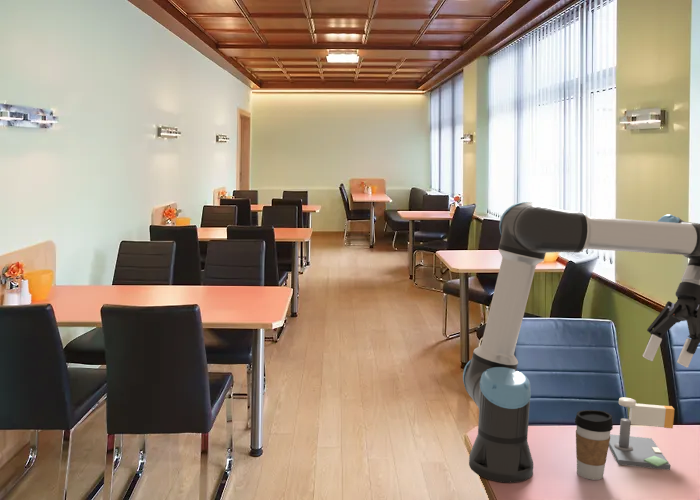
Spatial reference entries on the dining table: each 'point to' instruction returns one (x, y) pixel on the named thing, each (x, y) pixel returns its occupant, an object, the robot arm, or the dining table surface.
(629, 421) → the orange tipped swivel lever
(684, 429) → the dining table surface
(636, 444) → the tuner board
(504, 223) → the robot arm
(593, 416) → the coffee cup
